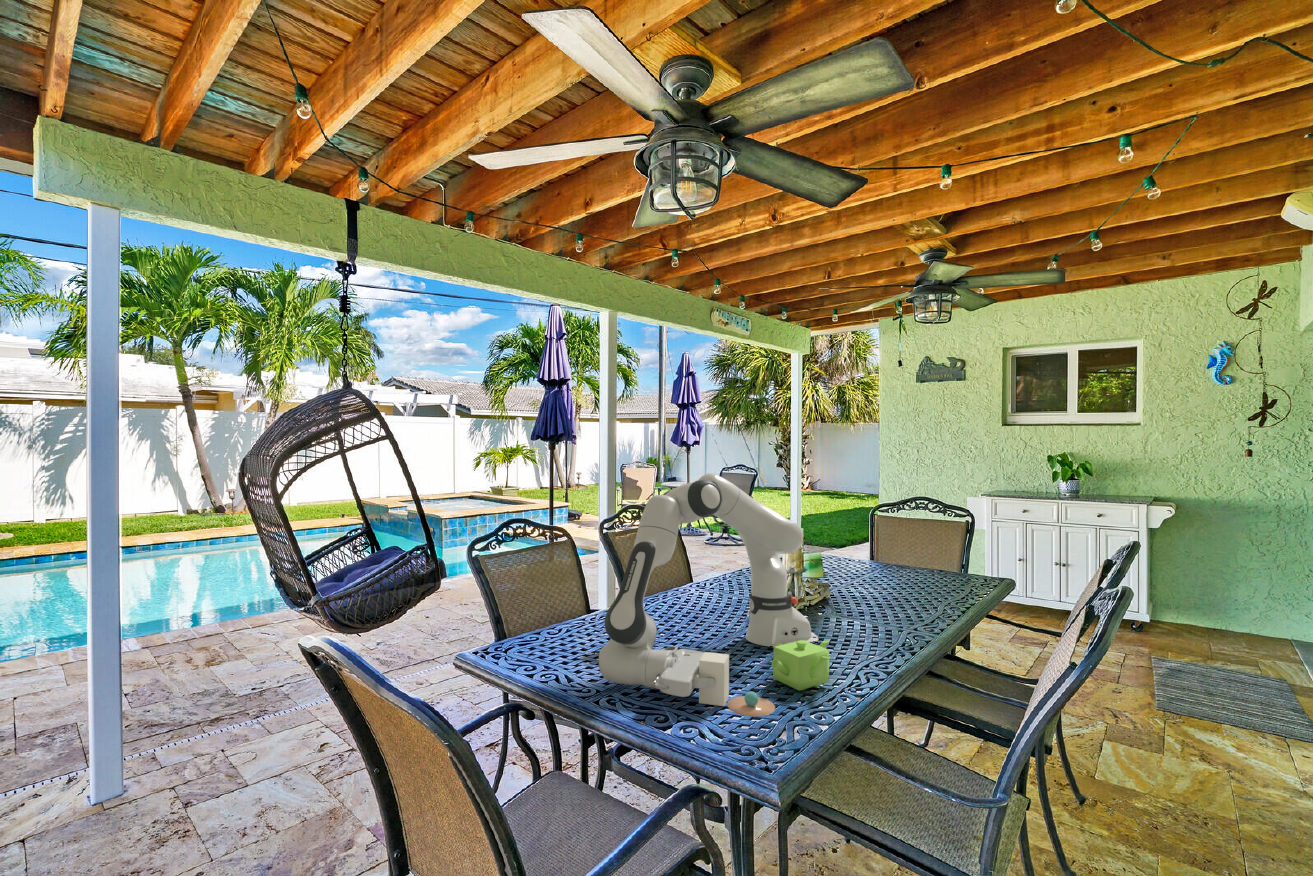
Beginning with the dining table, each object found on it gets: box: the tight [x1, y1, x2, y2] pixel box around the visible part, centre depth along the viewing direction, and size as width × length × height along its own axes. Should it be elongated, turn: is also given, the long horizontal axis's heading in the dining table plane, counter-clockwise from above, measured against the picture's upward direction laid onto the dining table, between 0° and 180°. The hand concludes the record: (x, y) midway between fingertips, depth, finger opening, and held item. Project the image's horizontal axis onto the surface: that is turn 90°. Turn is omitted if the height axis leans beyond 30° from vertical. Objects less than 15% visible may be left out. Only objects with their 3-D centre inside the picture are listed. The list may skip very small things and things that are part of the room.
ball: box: [744, 690, 759, 706], centre depth 143 cm, size 3×3×3 cm
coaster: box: [727, 695, 776, 718], centre depth 143 cm, size 11×11×1 cm
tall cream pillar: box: [698, 651, 730, 707], centre depth 146 cm, size 6×6×10 cm
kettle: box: [771, 639, 831, 692], centre depth 157 cm, size 15×14×11 cm
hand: (717, 676), depth 146 cm, fingers closed on tall cream pillar, 6 cm apart
